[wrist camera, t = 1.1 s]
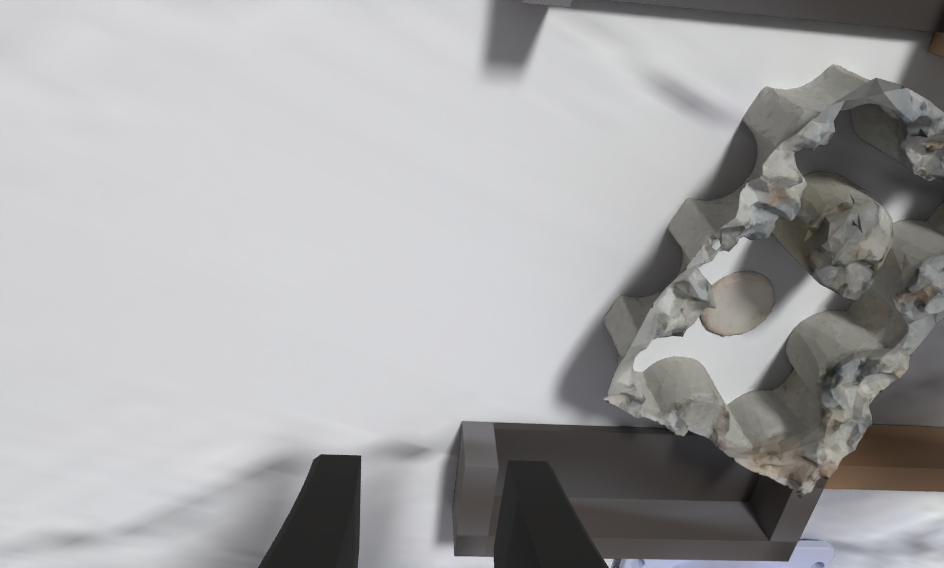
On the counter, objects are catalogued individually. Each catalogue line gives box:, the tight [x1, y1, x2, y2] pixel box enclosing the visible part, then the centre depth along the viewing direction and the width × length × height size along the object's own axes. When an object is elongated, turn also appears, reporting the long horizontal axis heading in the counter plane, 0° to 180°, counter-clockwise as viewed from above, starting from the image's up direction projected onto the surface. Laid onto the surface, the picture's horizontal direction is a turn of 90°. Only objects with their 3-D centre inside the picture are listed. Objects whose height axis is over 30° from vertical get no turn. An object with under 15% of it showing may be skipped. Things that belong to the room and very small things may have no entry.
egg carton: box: [603, 65, 944, 499], centre depth 18 cm, size 11×8×4 cm
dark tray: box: [452, 0, 944, 562], centre depth 19 cm, size 21×24×3 cm
